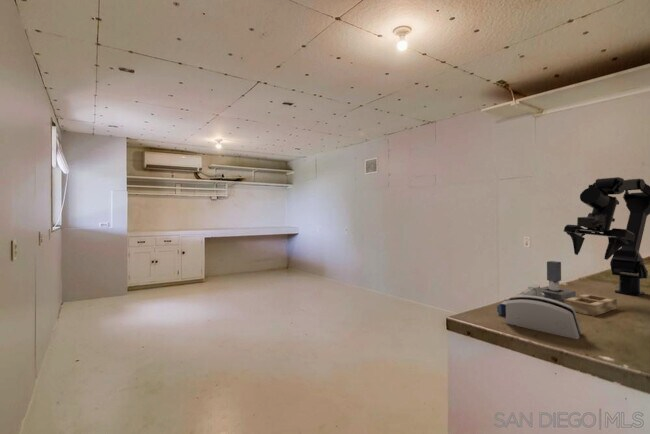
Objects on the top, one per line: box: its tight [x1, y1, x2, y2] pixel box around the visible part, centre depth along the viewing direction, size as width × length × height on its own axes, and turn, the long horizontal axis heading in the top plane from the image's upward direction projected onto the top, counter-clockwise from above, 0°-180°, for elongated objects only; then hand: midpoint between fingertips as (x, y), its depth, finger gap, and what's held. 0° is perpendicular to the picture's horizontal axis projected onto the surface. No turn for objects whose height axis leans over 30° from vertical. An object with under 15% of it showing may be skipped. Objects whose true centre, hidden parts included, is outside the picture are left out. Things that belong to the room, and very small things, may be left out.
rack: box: [564, 293, 618, 317], centre depth 103 cm, size 14×8×3 cm, turn 118°
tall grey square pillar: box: [546, 260, 562, 292], centre depth 115 cm, size 3×3×13 cm
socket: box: [540, 285, 577, 303], centre depth 115 cm, size 9×9×3 cm
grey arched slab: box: [505, 295, 582, 340], centre depth 87 cm, size 17×5×10 cm, turn 41°
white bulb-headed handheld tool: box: [496, 283, 544, 317], centre depth 106 cm, size 5×7×25 cm
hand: (590, 256), depth 112 cm, fingers open, 9 cm apart
